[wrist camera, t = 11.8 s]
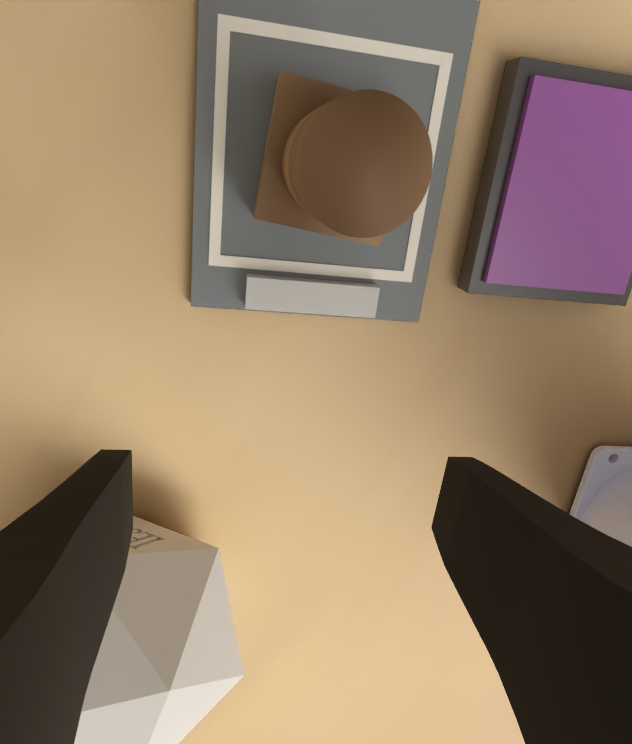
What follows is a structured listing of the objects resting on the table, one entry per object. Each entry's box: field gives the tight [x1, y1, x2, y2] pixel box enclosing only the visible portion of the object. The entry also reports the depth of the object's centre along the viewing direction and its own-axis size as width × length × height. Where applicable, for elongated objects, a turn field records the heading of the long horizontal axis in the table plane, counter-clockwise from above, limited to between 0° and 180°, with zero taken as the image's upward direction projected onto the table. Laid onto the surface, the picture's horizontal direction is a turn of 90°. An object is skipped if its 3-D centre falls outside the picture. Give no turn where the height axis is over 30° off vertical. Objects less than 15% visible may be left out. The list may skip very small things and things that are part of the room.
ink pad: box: [458, 57, 632, 306], centre depth 20 cm, size 7×8×1 cm
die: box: [74, 516, 244, 744], centre depth 20 cm, size 8×9×10 cm
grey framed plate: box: [191, 0, 480, 322], centre depth 18 cm, size 9×11×1 cm
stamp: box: [253, 70, 433, 247], centre depth 15 cm, size 4×4×6 cm
